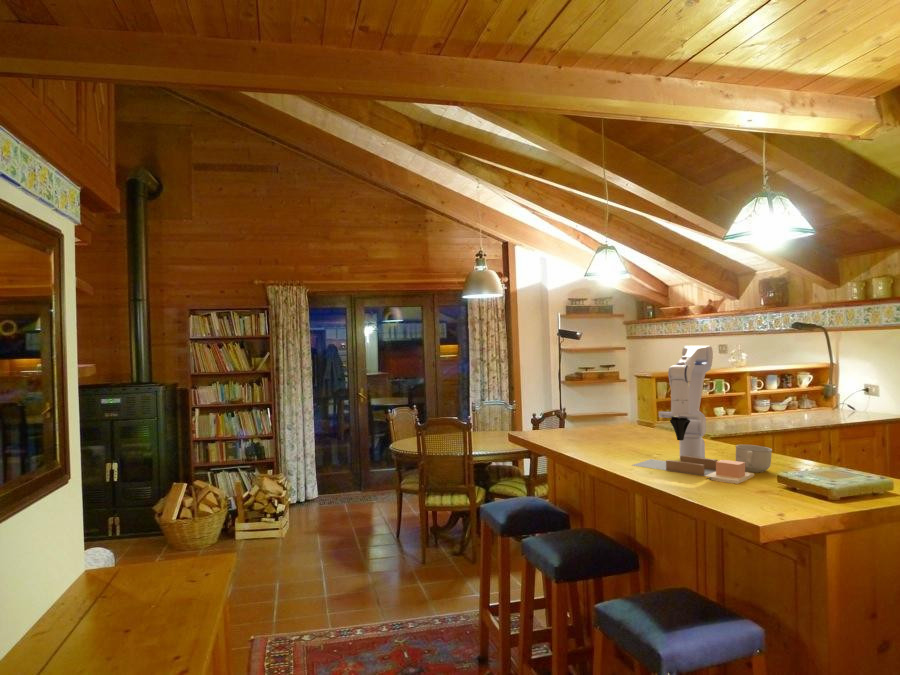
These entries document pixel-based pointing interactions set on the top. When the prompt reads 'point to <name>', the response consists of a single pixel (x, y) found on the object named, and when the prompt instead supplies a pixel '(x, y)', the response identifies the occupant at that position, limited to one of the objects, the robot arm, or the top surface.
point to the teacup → (754, 457)
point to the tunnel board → (693, 468)
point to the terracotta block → (730, 468)
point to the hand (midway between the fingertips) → (680, 440)
